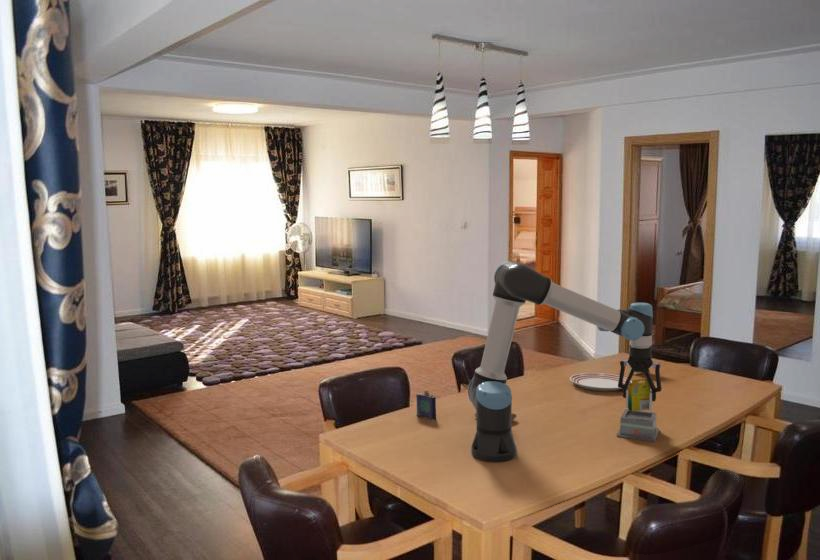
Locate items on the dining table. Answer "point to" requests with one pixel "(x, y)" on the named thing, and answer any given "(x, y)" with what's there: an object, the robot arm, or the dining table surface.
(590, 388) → the dinner plate
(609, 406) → the dining table surface
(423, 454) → the dining table surface
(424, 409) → the flask
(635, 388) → the crayon box
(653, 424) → the stand
